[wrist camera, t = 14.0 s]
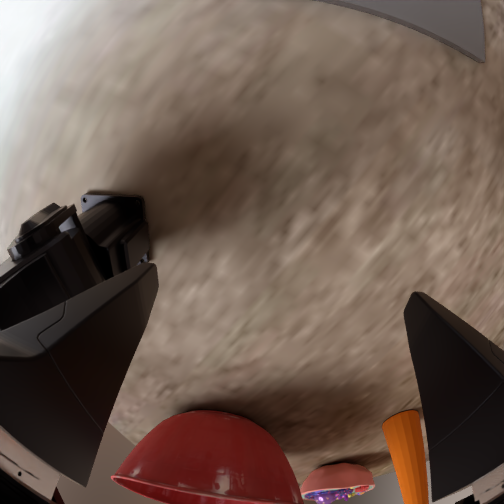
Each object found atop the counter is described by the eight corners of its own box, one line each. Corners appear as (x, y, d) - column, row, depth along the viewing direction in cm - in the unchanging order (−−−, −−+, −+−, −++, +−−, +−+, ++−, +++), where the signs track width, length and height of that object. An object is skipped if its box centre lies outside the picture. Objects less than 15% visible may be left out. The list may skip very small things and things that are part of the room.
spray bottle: (401, 400, 34) (428, 547, 11) (423, 413, 37) (448, 533, 14) (364, 420, 37) (379, 560, 14) (391, 430, 40) (408, 546, 17)
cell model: (344, 475, 55) (347, 507, 45) (283, 471, 52) (282, 509, 42) (388, 454, 47) (394, 492, 38) (324, 452, 45) (326, 499, 35)
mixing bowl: (283, 458, 47) (281, 520, 33) (151, 437, 47) (134, 497, 33) (330, 395, 33) (339, 499, 19) (122, 362, 33) (80, 457, 19)
